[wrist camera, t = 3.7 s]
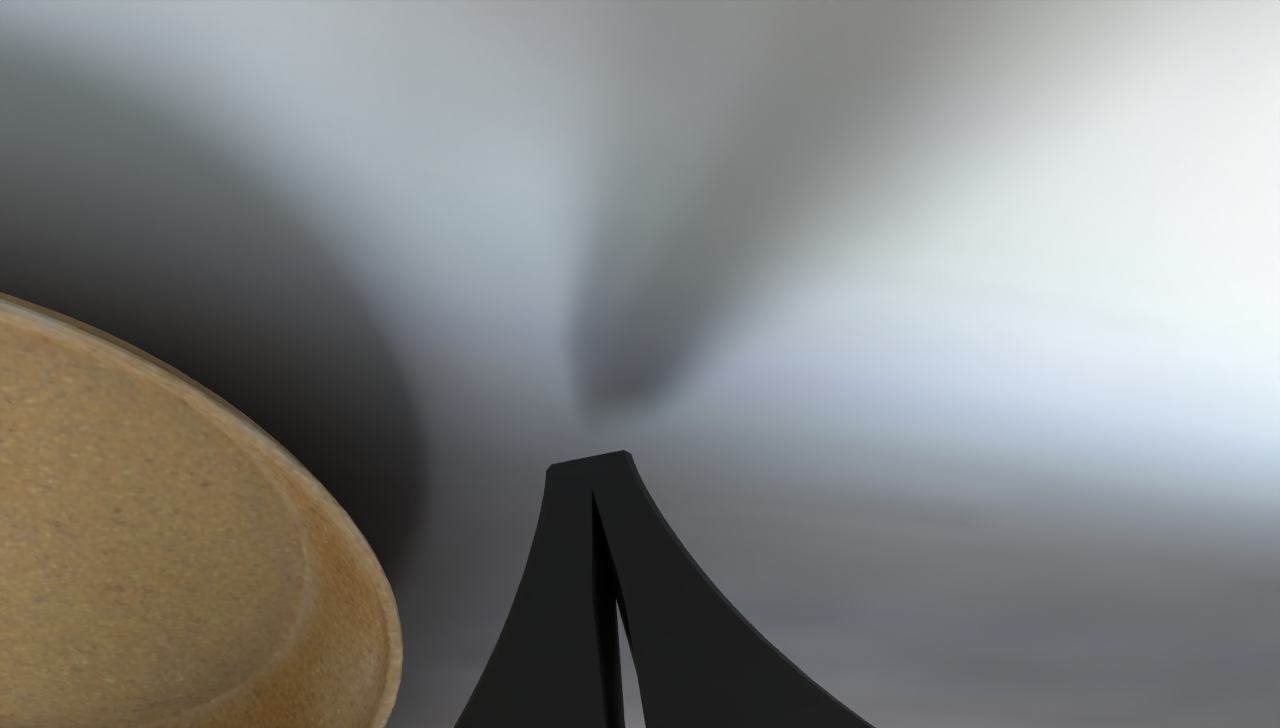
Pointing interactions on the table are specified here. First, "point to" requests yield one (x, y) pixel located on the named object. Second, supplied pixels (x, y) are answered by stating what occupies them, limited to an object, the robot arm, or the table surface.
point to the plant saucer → (170, 553)
